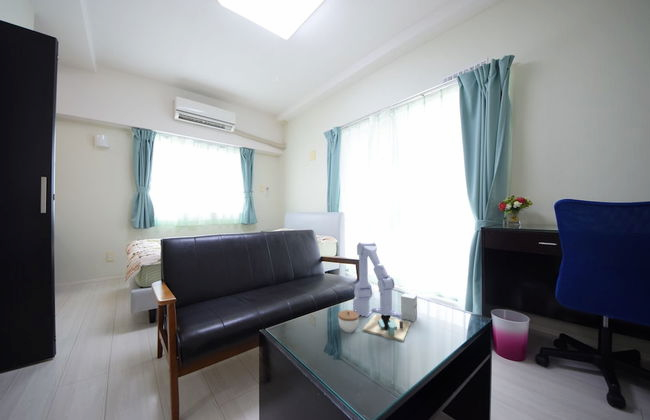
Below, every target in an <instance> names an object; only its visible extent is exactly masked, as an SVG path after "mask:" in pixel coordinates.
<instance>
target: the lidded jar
mask: <svg viewBox="0 0 650 420" xmlns="http://www.w3.org/2000/svg"><path fill="white" fill-rule="evenodd" d="M337 316H338V324H339V326H340V328H341V329H342V331H343V332H345V333H353V332H354V331H355V330H356V329H357V328H358V326H359V316H360V315H359V314H358V313H357V312H355V311H353V310H351V309H350V310H348V309H347V310H346V309H344V310H341V311H340V312H338V313H337Z"/></svg>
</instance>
